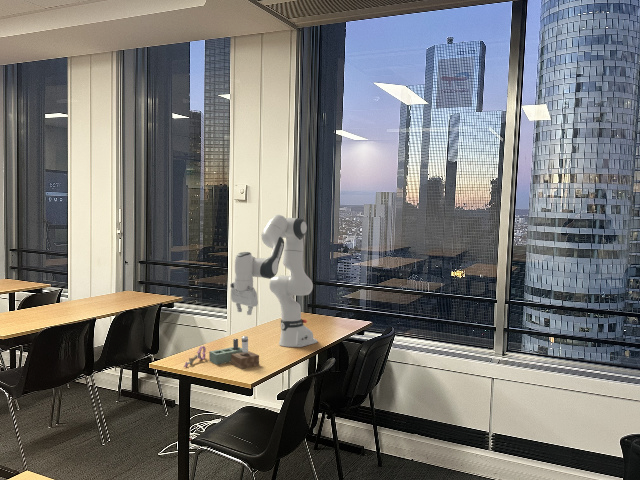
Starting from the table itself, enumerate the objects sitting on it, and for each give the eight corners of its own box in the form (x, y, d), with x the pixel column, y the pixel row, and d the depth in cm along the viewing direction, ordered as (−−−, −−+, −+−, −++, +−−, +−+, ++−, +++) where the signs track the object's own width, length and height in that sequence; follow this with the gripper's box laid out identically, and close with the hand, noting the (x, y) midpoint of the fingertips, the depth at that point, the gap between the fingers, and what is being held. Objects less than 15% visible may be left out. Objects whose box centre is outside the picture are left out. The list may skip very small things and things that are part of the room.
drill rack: (237, 355, 286) (237, 346, 286) (244, 359, 280) (244, 349, 279) (209, 361, 276) (209, 351, 276) (216, 364, 270) (216, 354, 270)
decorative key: (183, 374, 265) (204, 356, 283) (185, 374, 265) (206, 356, 283) (181, 361, 264) (203, 344, 282) (183, 361, 263) (205, 344, 282)
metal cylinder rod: (246, 363, 272) (245, 335, 271) (249, 364, 269) (249, 337, 268) (240, 364, 270) (240, 336, 269) (244, 366, 267) (243, 338, 266)
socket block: (248, 360, 277) (248, 351, 276) (259, 365, 269) (259, 355, 268) (231, 364, 270) (231, 354, 270) (241, 369, 263) (241, 358, 262)
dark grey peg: (236, 357, 283) (236, 338, 282) (239, 358, 281) (238, 339, 280) (232, 358, 281) (232, 339, 281) (235, 359, 279) (234, 340, 279)
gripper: (260, 287, 261) (261, 315, 262) (239, 282, 277) (239, 309, 278) (249, 288, 257) (249, 317, 258) (228, 283, 273) (228, 311, 274)
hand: (244, 313), depth 268 cm, fingers open, 8 cm apart
